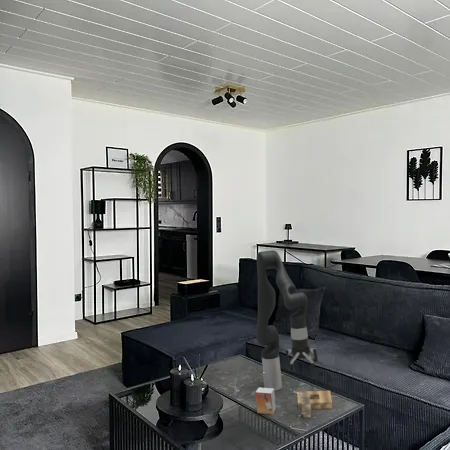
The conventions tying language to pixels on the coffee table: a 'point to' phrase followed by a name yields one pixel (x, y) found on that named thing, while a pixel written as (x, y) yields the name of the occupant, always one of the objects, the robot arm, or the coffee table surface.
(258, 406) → the small box
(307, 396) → the ash peg
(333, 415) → the coffee table surface
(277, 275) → the robot arm
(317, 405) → the oak board
